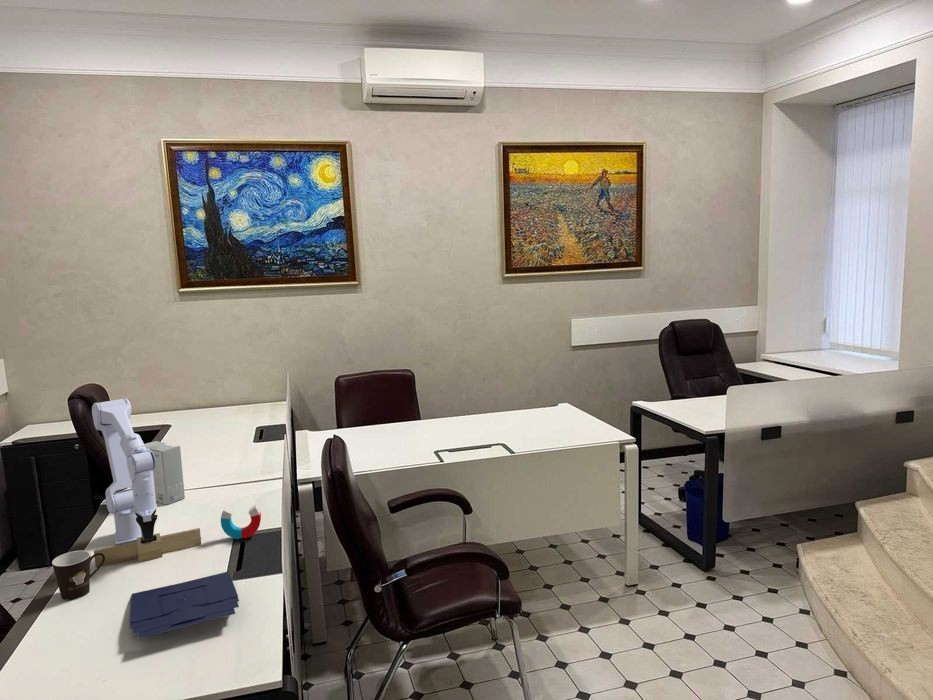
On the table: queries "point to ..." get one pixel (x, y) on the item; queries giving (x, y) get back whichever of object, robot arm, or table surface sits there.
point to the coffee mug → (74, 573)
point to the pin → (146, 540)
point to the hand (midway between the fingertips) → (148, 536)
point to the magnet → (236, 531)
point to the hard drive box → (167, 472)
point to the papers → (182, 604)
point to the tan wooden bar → (148, 547)
